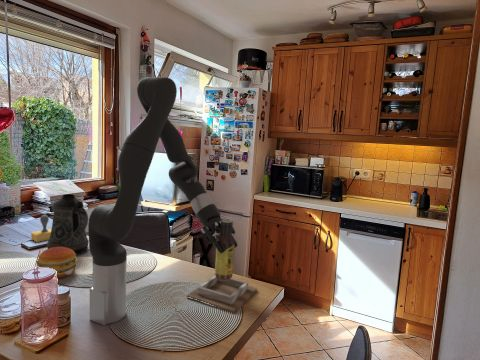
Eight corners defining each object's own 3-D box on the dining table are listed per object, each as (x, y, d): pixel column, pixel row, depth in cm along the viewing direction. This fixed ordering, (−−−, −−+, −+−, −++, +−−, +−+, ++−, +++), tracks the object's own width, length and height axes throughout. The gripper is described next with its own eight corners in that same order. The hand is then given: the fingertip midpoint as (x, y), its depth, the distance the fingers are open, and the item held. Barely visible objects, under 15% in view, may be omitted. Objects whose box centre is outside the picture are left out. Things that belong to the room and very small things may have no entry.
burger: (85, 271, 128) (84, 246, 127) (53, 285, 116) (53, 257, 114) (59, 264, 133) (59, 240, 132) (26, 277, 121) (26, 250, 119)
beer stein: (60, 242, 157) (60, 190, 154) (101, 245, 157) (101, 193, 153) (38, 255, 141) (37, 197, 137) (83, 258, 140) (83, 200, 137)
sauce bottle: (230, 282, 112) (233, 224, 109) (212, 279, 113) (215, 222, 110) (234, 274, 118) (237, 219, 115) (217, 271, 119) (220, 217, 116)
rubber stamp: (37, 242, 156) (36, 217, 154) (31, 239, 159) (30, 215, 157) (58, 237, 164) (58, 214, 162) (52, 235, 167) (51, 212, 165)
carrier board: (234, 313, 104) (234, 302, 104) (186, 298, 112) (187, 288, 112) (256, 290, 120) (257, 281, 120) (214, 278, 128) (214, 270, 128)
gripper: (196, 206, 111) (222, 249, 105) (224, 200, 122) (248, 239, 117) (185, 218, 114) (209, 260, 109) (212, 211, 126) (235, 249, 121)
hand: (229, 249), depth 113 cm, fingers closed on sauce bottle, 6 cm apart
